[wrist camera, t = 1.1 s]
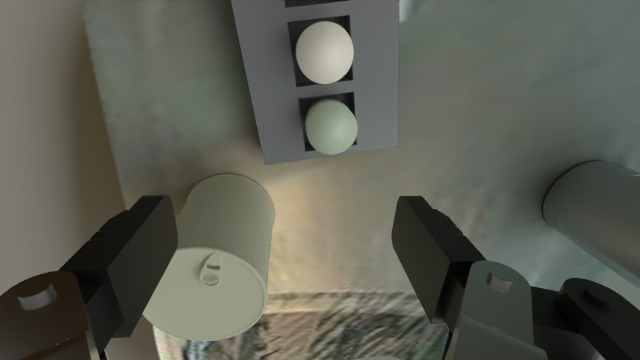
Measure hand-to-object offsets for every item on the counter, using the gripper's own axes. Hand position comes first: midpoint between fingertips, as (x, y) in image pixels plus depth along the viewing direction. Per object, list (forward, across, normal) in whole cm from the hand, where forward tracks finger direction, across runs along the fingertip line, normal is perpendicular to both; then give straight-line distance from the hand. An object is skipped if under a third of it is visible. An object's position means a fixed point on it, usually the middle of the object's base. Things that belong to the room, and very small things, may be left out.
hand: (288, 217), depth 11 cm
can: (+19, +6, +11) cm, 23 cm away
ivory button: (+16, -2, -5) cm, 17 cm away
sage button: (+16, -3, 0) cm, 16 cm away
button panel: (+18, -2, -5) cm, 19 cm away
